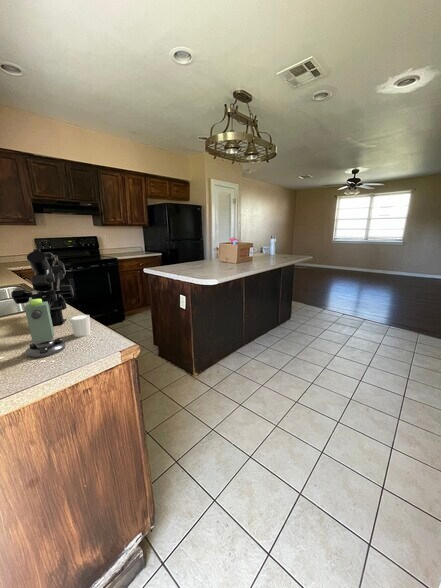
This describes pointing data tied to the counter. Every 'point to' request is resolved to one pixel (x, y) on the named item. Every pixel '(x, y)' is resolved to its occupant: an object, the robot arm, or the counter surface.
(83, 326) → the white cup
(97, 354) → the counter surface
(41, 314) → the dome-topped green pillar
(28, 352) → the base
